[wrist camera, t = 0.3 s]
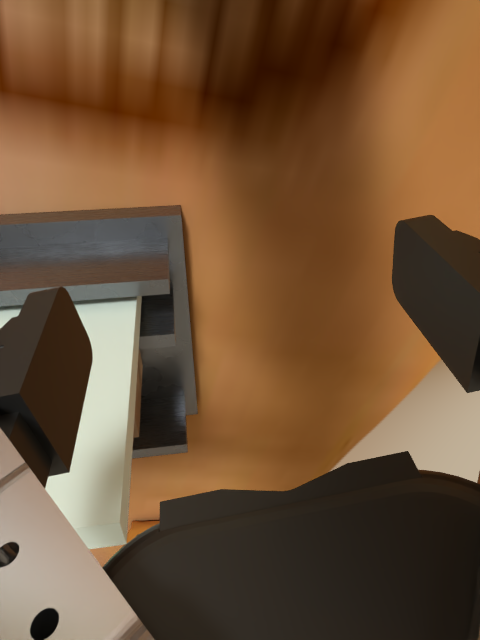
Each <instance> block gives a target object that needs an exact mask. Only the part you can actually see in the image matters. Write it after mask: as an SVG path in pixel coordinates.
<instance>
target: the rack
mask: <svg viewBox="0 0 480 640" xmlns="http://www.w3.org/2000/svg"><path fill="white" fill-rule="evenodd" d="M57 287H64V288H65V289H66V290H67V291H68V293H69V295H70V297H71V299H72V301H80V300H93V299H107V298H120V297H134V296H142V303H141V319H140V336H139V349H140V353H141V359H142V364H143V368H142V388H141V409H140V429H139V437H135V438H134V440H133V449H132V458H141V457H150V456H159V455H168V454H176V453H185V452H188V446H187V427H186V415H193V414H198V411H197V399H196V387H195V374H194V362H193V350H192V338H191V326H190V314H189V302H188V290H187V278H186V266H185V254H184V242H183V230H182V218H181V206H180V205H176V206H157V207H138V208H120V209H101V210H82V211H63V212H44V213H25V214H6V215H0V306H12V305H23V304H24V302H25V300H26V298H27V296H28V294H29V293H32V292H37V291H42V290H47V289H52V288H57Z"/></svg>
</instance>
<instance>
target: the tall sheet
mask: <svg viewBox="0 0 480 640" xmlns="http://www.w3.org/2000/svg"><path fill="white" fill-rule="evenodd" d="M73 303H74V306H75V308H76V310H77V312H78V314H79V317H80V319H81V321H82V323H83V326H84V328H85V330H86V332H87V334H88V337H89V339H90V342H91V347H92V354H93V361H92V366H91V371H90V376H89V381H88V386H87V390H86V395H85V400H84V405H83V410H82V414H81V419H80V424H79V429H78V434H77V438H76V443H75V448H74V453H73V458H72V463H71V467H70V472H69V473H64V474H59V475H54V476H49V477H48V479H47V483H46V487H45V490H46V491H47V492H48V494H49V495H50V497H51V498H52V499H53V501H54V502H55V503H56V505H57V506H58V508H59V509H60V510H61V512H62V513H63V514H64V516H65V517H66V519H67V520H68V521H69V523H70V524H71V525H72V527H73V528H74V530H75V531H76V532H77V534H78V535H79V537H80V538H81V539H82V541H83V542H84V543H85V545H86V546H87V548H88V549H95V548H102V547H110V546H117V545H125V544H127V530H128V514H129V498H130V481H131V465H132V449H133V433H134V417H135V400H136V384H137V368H138V352H139V336H140V319H141V303H142V296H134V297H120V298H107V299H93V300H80V301H73ZM22 307H23V305H12V306H0V328H2V327H3V326H4V325H5V324H6V323H7V322H8V321H9V320H10V319H11V318H12V317H17V316H18V315H19V313H20V311H21V309H22Z"/></svg>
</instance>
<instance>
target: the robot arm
mask: <svg viewBox="0 0 480 640" xmlns="http://www.w3.org/2000/svg"><path fill="white" fill-rule="evenodd" d="M392 284H393V290H394V293H395V296H396V298H397V300H398V302H399V303H400V305H401V306H402V307H403V309H404V310H405V311H406V313H407V314H408V315H409V317H410V318H411V319H412V321H413V322H414V323H415V325H416V326H417V327H418V328H419V330H420V331H421V332H422V334H423V335H424V336H425V338H426V339H427V340H428V342H429V343H430V344H431V346H432V347H433V348H434V350H435V351H436V352H437V354H438V355H439V356H440V358H441V359H442V360H443V362H444V363H445V364H446V366H447V367H448V368H449V370H450V371H451V372H452V373H453V375H454V376H455V377H456V379H457V380H458V381H459V383H460V384H461V385H462V387H463V388H464V389H465V391H466V392H467V393H469V392H474V391H479V390H480V240H479V239H478V238H475V237H473V236H470V235H467V234H465V233H462V232H459V231H457V230H456V231H452V230H451V229H449V228H448V227H447V226H446V225H445V224H443V223H442V222H441V221H440V220H439V219H437V218H436V217H435V216H433V215H427V216H422V217H416V218H411V219H406V220H401V221H399V222H398V223H397V225H396V228H395V238H394V254H393V270H392ZM92 361H93V354H92V347H91V342H90V339H89V337H88V334H87V332H86V330H85V328H84V326H83V323H82V321H81V319H80V317H79V314H78V312H77V310H76V308H75V306H74V303H73V301H72V299H71V297H70V295H69V293H68V291H67V290H66V289H65V288H64V287H57V288H52V289H47V290H42V291H37V292H32V293H29V294H28V296H27V298H26V300H25V302H24V304H23V307H22V309H21V311H20V313H19V315H18V316H17V317H12V318H11V319H10V320H9V321H8V322H7V323H6V324H5V325H4V326H3V327H2V328H0V640H480V472H479V477H478V482H477V483H475V482H473V481H470V480H467V479H464V478H461V477H458V476H454V475H450V474H446V473H441V472H434V471H427V470H418V469H417V468H416V465H415V463H414V461H413V460H412V458H411V456H410V454H409V452H408V451H406V452H401V453H396V454H391V455H386V456H382V457H376V458H372V459H367V460H362V461H357V462H352V463H347V464H345V465H343V466H341V467H339V468H337V469H335V470H333V471H331V472H328V473H326V474H324V475H322V476H320V477H318V478H316V479H314V480H312V481H310V482H308V483H305V484H303V485H301V486H299V487H297V488H295V489H292V490H289V491H254V490H226V489H221V490H216V491H211V492H206V493H201V494H196V495H191V496H187V497H182V498H177V499H172V500H167V501H162V502H160V523H158V524H156V525H154V526H152V527H150V528H149V529H147V530H145V531H144V532H142V533H141V534H139V535H137V536H136V537H135V538H133V539H132V540H131V541H129V542H128V543H127V544H126V545H124V546H123V547H122V548H121V549H120V550H119V551H118V552H117V553H116V554H115V555H113V556H112V557H111V558H110V560H109V561H108V562H107V563H106V564H105V565H104V566H103V567H101V565H100V564H99V563H98V561H97V560H96V559H95V557H94V556H93V554H92V553H91V552H90V550H89V549H88V548H87V546H86V545H85V543H84V542H83V541H82V539H81V538H80V537H79V535H78V534H77V532H76V531H75V530H74V528H73V527H72V525H71V524H70V523H69V521H68V520H67V519H66V517H65V516H64V514H63V513H62V512H61V510H60V509H59V508H58V506H57V505H56V503H55V502H54V501H53V499H52V498H51V497H50V495H49V494H48V492H47V491H46V490H45V487H46V483H47V479H48V477H49V476H54V475H59V474H64V473H69V472H70V467H71V463H72V458H73V453H74V448H75V443H76V438H77V434H78V429H79V424H80V419H81V414H82V410H83V405H84V400H85V395H86V390H87V386H88V381H89V376H90V371H91V366H92Z"/></svg>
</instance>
